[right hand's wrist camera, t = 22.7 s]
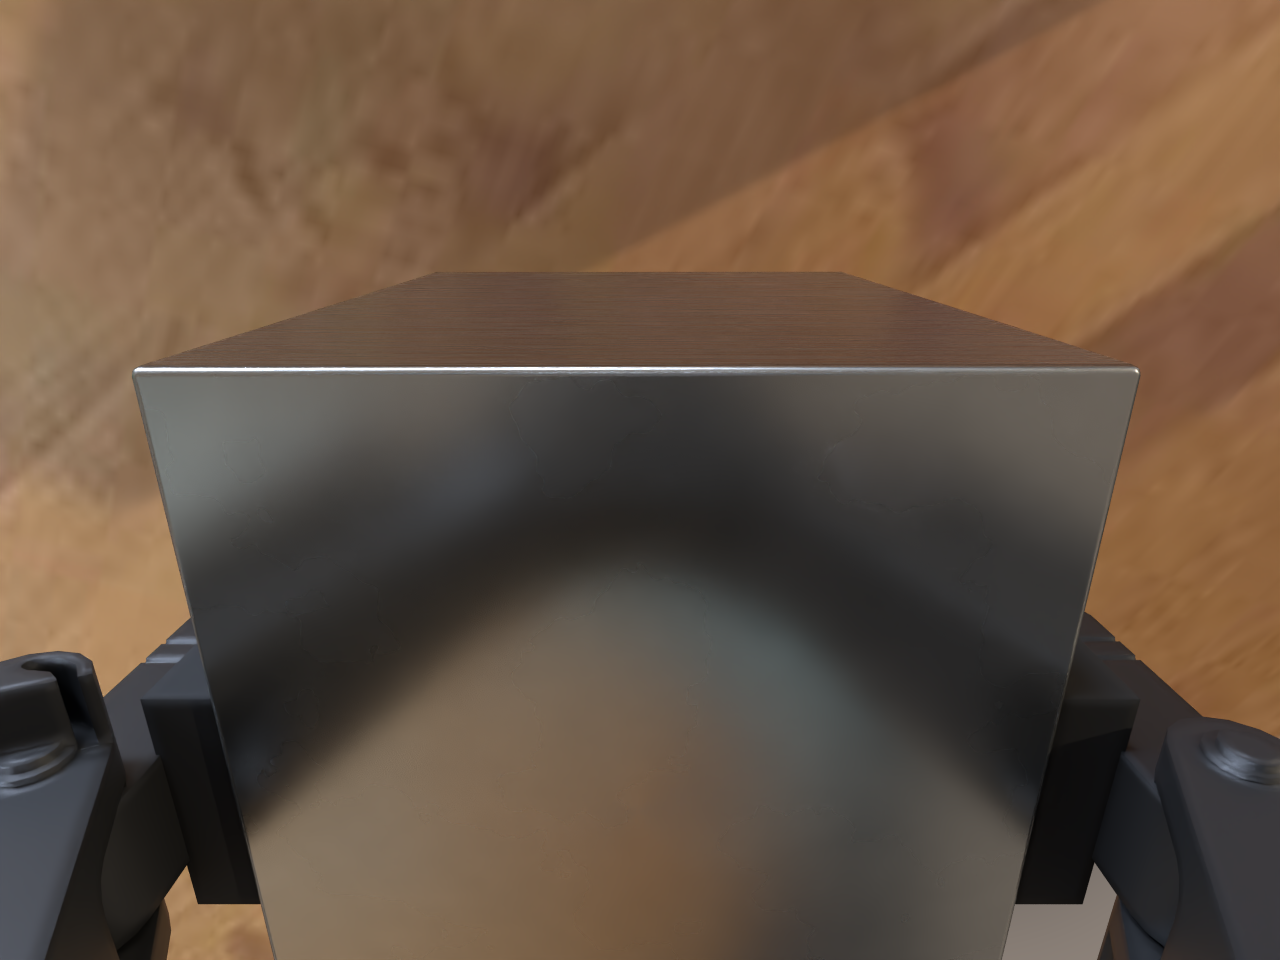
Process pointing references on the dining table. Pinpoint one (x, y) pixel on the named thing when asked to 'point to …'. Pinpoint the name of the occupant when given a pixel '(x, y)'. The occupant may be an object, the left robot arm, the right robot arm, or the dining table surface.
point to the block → (637, 610)
